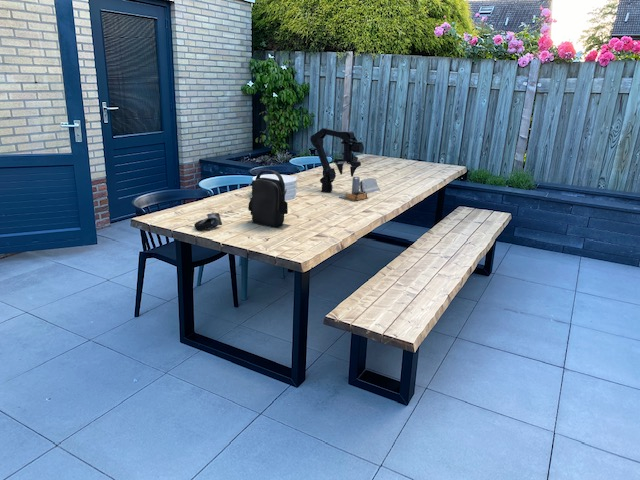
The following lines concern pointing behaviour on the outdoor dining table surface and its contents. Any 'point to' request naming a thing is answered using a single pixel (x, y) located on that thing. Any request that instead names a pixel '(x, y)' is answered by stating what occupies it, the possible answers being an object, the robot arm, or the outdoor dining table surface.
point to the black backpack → (268, 201)
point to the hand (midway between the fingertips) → (346, 175)
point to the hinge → (368, 185)
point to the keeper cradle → (355, 196)
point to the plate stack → (289, 184)
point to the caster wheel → (209, 222)
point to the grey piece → (355, 185)
